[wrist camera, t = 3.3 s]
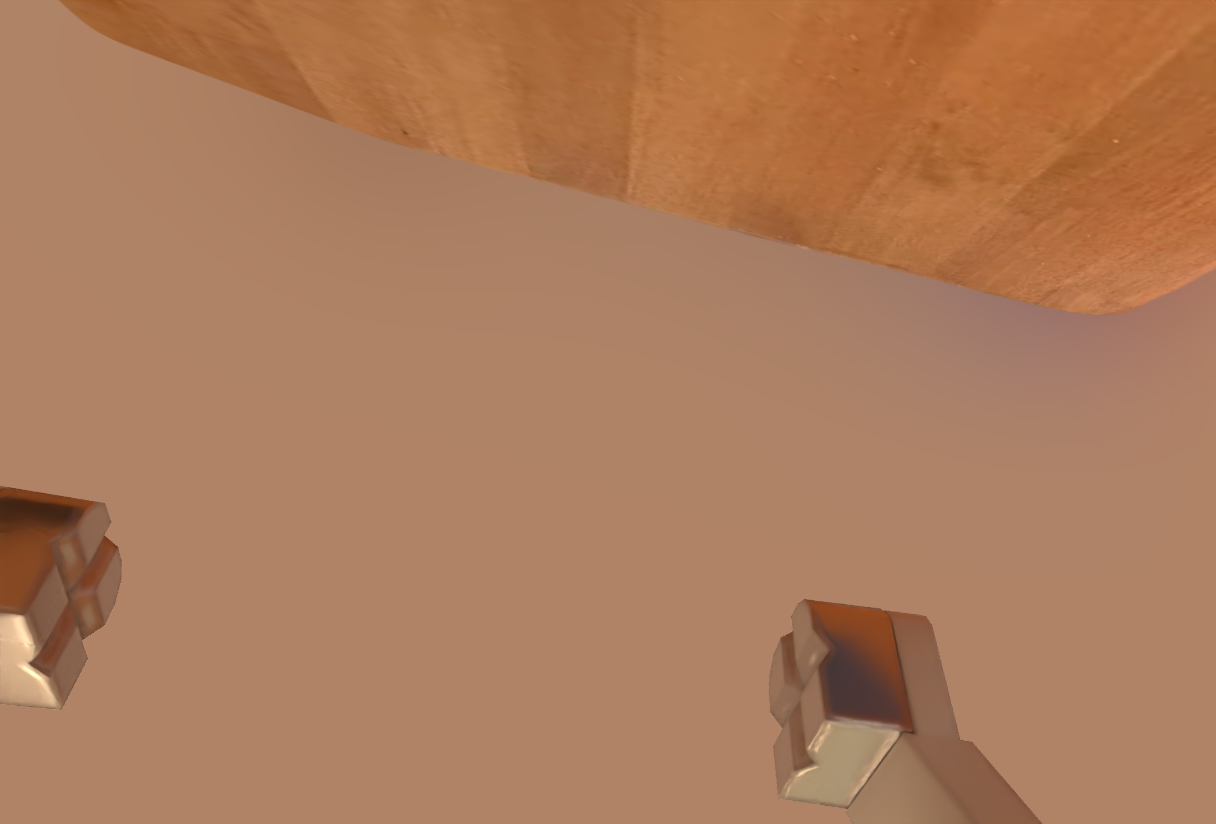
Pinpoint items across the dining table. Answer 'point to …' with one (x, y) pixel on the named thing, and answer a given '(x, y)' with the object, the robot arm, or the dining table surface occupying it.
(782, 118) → the dining table surface
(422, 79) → the dining table surface
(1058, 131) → the dining table surface
